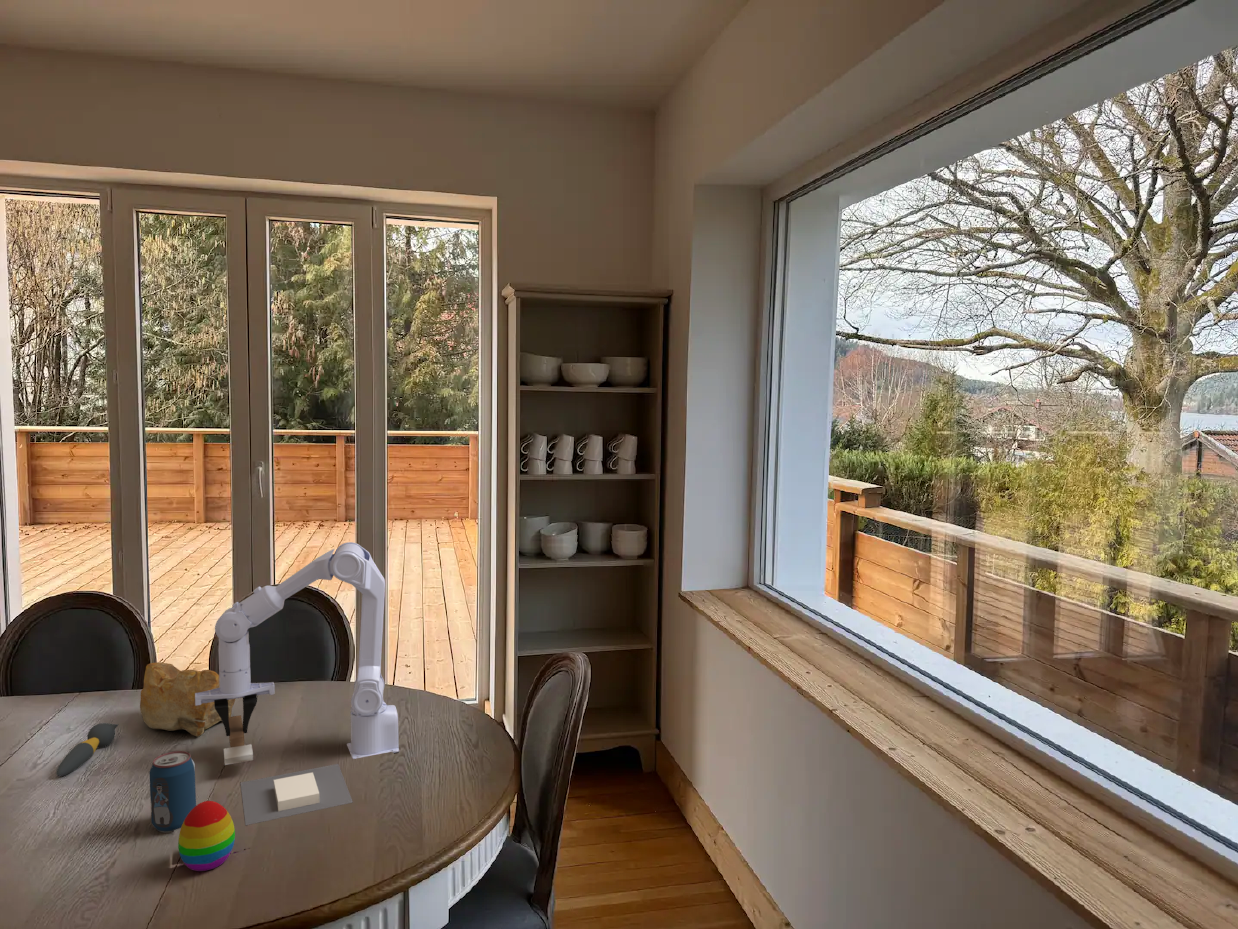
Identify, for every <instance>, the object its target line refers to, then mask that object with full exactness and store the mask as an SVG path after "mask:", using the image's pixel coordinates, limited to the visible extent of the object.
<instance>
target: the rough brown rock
mask: <svg viewBox="0 0 1238 929" xmlns="http://www.w3.org/2000/svg"><path fill="white" fill-rule="evenodd" d="M216 688H220V684H219V673H217V672H216V671H214V670H210V669H203V670H197V669H184V670H180V669H179V668H178V667H176V666H175V665H173V663H167V662H159V661H157V662H150V663H148V664H146V666H145V671H144V677H143V688H142V689H141V690H140V701H139V710H140V714H141V716H142V720H143V722H144V724H145V725H146V726H147V727H148V728H149V729H152V730H153V729H154V730H165V731H169V732H172V731H179V730H185V731H186V732H187V733H189V734H190V735H192V736H194V737H200V736H202V735H203V734H204V733H205V730H208V729H209V728H211V727H213V726H215V725H216V724H218V723H219V722H222V720H221V718H220V716H219V714H218V713H217V711H216V709H215V706H214V702H209V703H202V704H201V705H197V706H195V693H199V692H204V691H208V690H212V689H216ZM235 701H236V699H229V700H228V711H229V717H232V710H233V707H234V705H235Z"/></svg>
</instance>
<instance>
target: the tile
mask: <svg viewBox="0 0 1238 929" xmlns="http://www.w3.org/2000/svg"><path fill="white" fill-rule="evenodd" d="M274 792H275V797H276V802H277V807H278V811H282V810H287V809H292V808H297V807H301V806H306V805H311V804H316V803H319V791H318V787H317V784H316V781H315V778H314V774H313V772H312V773H307V774H302V775H297V776H291V777H286V778H281V779H276V780H274Z"/></svg>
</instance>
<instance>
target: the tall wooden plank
mask: <svg viewBox="0 0 1238 929" xmlns="http://www.w3.org/2000/svg"><path fill="white" fill-rule="evenodd" d="M229 727H230V736H228V737H229V738H228V739H229V747H227V748H223V758H224V766H226V765H232V764H238V763H244V762H249V761H253V760H254V752H253V746H252V743H249V744H245V733H244V732H243V717H242V715H233V716H231V717H229Z"/></svg>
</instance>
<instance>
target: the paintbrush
mask: <svg viewBox="0 0 1238 929" xmlns="http://www.w3.org/2000/svg"><path fill="white" fill-rule="evenodd" d="M118 726H119V724H116V723H108V722H101V723H97V724H94V725H93V726H92V727H91V728H90V729H89V730H88V732H87V739H85V740H84V741H81V742H79V743H78V744H76V745H75V746H74V747H73V748H72V749H70V751H69V752H68V753H67V754H66V755H65V756H64V758H63V759H62V760H61V762H60V763H59V765H58V766H57V769H56V772H55V775H56V776H57V777H64V776H66V775H69V774H71V773H73V772H74V771H76V770H77V769H79V768H80V767H81V766H83V765H85V764H86V763H87V762H88V761H89V760H90V759H91V758H92V757H93V755H94V753H95V752H96V750H97V749H100V748H101V749H102V748H106V747H108V746H110V745H111V744H112V743H113V741H114V740H115V737H116V729H117V727H118Z"/></svg>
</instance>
